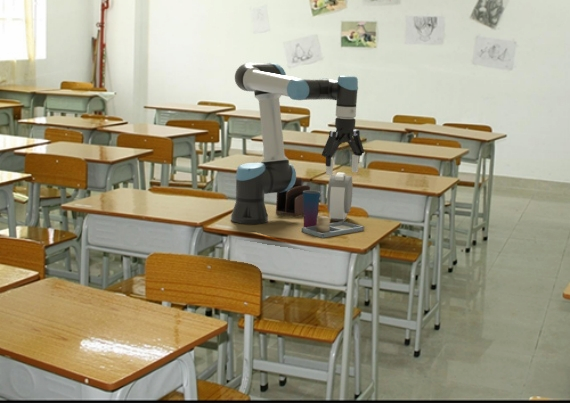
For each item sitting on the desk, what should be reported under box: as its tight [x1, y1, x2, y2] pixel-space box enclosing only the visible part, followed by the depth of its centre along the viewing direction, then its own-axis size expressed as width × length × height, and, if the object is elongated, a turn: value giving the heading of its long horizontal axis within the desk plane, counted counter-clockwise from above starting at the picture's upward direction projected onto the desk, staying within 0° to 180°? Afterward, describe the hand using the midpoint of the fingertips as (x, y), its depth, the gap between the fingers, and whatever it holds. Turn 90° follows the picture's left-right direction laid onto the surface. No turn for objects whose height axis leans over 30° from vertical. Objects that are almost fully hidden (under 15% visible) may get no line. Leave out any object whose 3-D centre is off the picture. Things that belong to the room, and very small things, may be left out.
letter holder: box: [275, 177, 311, 217], centre depth 351 cm, size 10×20×14 cm, turn 148°
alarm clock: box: [326, 171, 354, 222], centre depth 334 cm, size 18×8×20 cm, turn 168°
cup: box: [302, 189, 321, 228], centre depth 317 cm, size 7×7×15 cm
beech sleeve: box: [316, 215, 331, 233], centre depth 307 cm, size 5×5×6 cm
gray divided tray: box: [301, 221, 365, 239], centre depth 311 cm, size 12×22×2 cm, turn 131°
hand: (342, 173), depth 304 cm, fingers open, 13 cm apart
